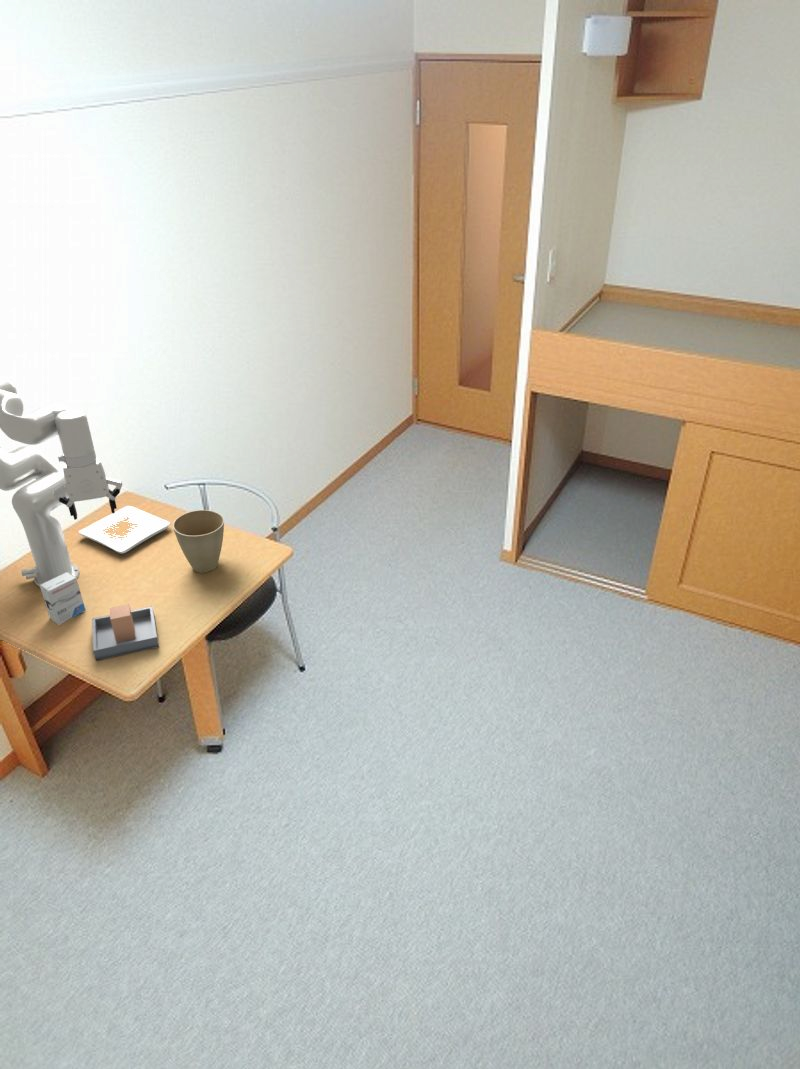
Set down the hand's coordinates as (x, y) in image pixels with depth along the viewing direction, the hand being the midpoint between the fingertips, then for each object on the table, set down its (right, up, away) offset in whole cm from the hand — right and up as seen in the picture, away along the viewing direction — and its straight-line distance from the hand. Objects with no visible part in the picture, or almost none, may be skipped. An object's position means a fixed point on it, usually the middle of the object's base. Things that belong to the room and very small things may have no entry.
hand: (94, 514), depth 204 cm
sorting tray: (+9, -34, 0) cm, 35 cm away
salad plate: (-7, -6, +44) cm, 45 cm away
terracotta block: (+9, -33, 0) cm, 34 cm away
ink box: (-11, -28, +8) cm, 32 cm away
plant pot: (+23, -15, +29) cm, 40 cm away
